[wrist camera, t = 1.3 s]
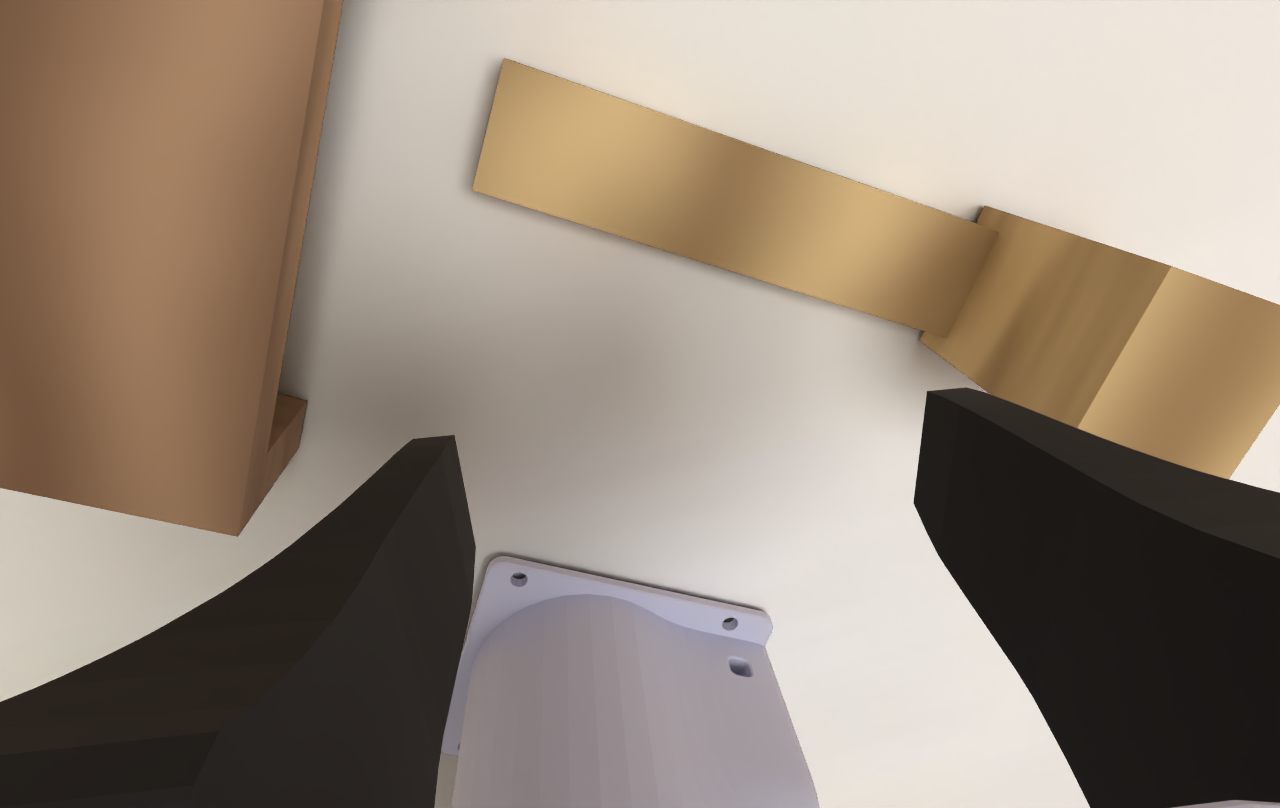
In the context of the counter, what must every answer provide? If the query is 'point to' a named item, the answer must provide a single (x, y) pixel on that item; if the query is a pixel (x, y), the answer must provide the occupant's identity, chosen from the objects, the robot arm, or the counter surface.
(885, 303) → the tool
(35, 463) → the shelf
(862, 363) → the counter surface
